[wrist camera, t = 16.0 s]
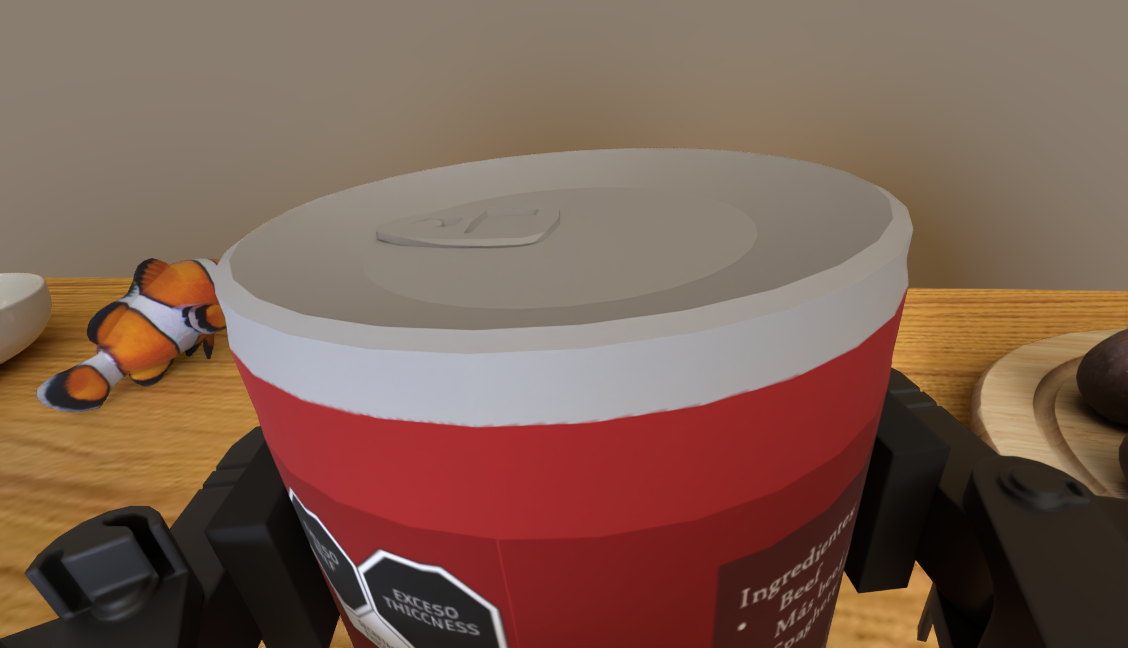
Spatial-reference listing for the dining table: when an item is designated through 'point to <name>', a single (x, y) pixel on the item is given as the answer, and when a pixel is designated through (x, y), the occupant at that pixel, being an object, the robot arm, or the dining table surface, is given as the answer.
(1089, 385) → the wooden plate
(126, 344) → the fish
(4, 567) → the dining table surface
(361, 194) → the canned food
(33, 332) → the serving bowl
